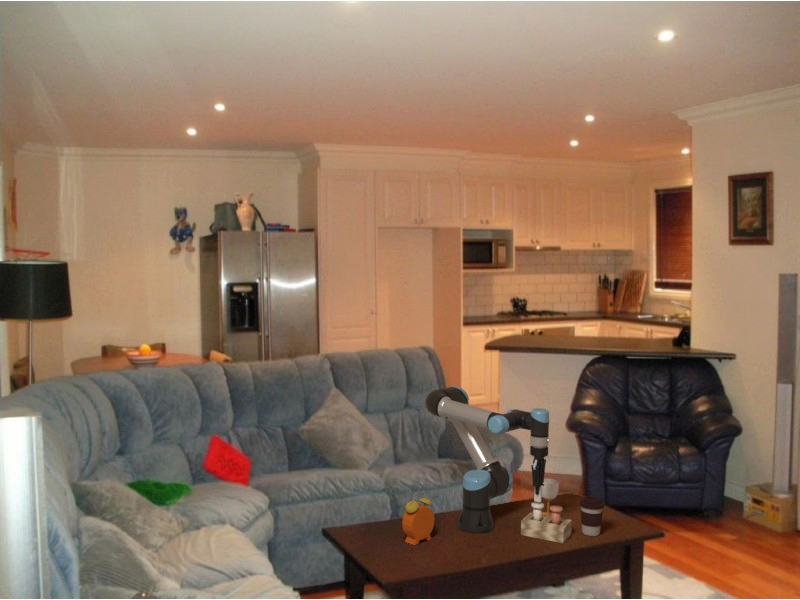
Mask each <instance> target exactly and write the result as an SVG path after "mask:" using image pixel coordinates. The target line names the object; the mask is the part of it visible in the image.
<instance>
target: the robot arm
mask: <svg viewBox="0 0 800 600" xmlns="http://www.w3.org/2000/svg"><path fill="white" fill-rule="evenodd" d="M424 401H425V403H424V404H425V408H426V410H427V411H428V412H429V413H430V414H431V415H433V416H436V417H437V418H438V417H439V418H442V419H445V418H446V420H447V421H448V422H451V423H452V425H453V426H454V428H455V430H456V431H457V434H458V436H459V438H460V439H461V442H462V443H463V445H464V446H465V449H466V450H467V452H468V454H469V456H470V458H471V460H472V461H473V464H474V465H475V467H476V469H472V470H468V471H467V472H465V473H464V475H463V478H462V479H463V480H462V506H461V507H462V509H461V511H460V515H459V517H458V520H457V525H458V526H457V527H458V528H459V529H460V530H462V531H465V532H469V533H476V534H477V533H478V534H479V533H481V534H482V533H487V532H490V531H492V530H493V529H494V520H493V515H492V513H491V510H490V509H491V506H490V505H491V504H490V503H491V500H492V499H494V498H496V497H500V496H503V495H505V494H507V493H508V492H510V491H511V489H512V488H513V483H514V475H513V474H512V471H511V470H510V469H509V468H508V467H506V466H503V465H502V464H501V462H500V461H499V460H498V459H494V456H493V455H492V453H491V452H490V450H489V448H488V446H487V444H486V442H485V441H484V439H483V437H482V435H481V433H480V431H479V430H478V428H477V427H481V428H484V429H488V430H489V431H490V432H491V433H492V434H493V435H502V434H505V433H508V432H509V433H510V432H511V431H512V432H513V431H515V430H520V429H522V430H527V431H530V435H529V436H530V437H529V443H530V447H529V455H531V456H532V457H533V460H532V464H531V467H530V468H531V476H532V487H534V491H533V492H534V497H533V498H534V499H533V500H534V501H533V502H540V503H542V500H543V499H542V498H543V497H542V486H544V484H542V483H544V479H545V472H546V463H547V459H545V458H546V457H548V455H549V442H550V439H549V432H550V412H549V410H547V409H546V408H539V407H535V408H532V409H531V411H525V410H520V409H517V408H516V409H513V408H511V409H509V410H508V411H506V413H499V412H496V411H492V410H489V409H484V408H481V407H477V406H474V405H470V397H469V395H468V393H467V392H466V390H465V389H464V388H462V387H459V386H448V387H445V388H439V389H433V390H431V391H430V392H428V394H427V395H426V398H425V400H424ZM541 485H542V486H541Z"/></svg>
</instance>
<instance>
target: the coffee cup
mask: <svg viewBox="0 0 800 600" xmlns="http://www.w3.org/2000/svg"><path fill="white" fill-rule="evenodd" d="M579 506H580V522H581V523H580V524H581V533H582V534H584V535H586V536H587V537H589V536H590V537H596V536H599V535H600V533H601V525H602V520H603V508H604V507H605V503H604V501H602V500H601V498H599V497H597V496H592V495H587V496H583V498H582V499H580V500H579Z"/></svg>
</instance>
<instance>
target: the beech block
mask: <svg viewBox="0 0 800 600" xmlns="http://www.w3.org/2000/svg"><path fill="white" fill-rule="evenodd" d="M551 519H552V516H548V515H542V521H536V520H533V512H529V513H528V514H527V515H526V516H525V517H523V518H522V519H521V520H520V536H526V537H530V538H534V539H535V538H536V539H539V540H540V539H541V540H545V541H551V542H556V543H559V544H564V543H565V542H566V541H567V540H568V538H569V537H570V536H571V535H572V523H573V522H572V519H570V518H564V517H560V525H557V524H552V523H551Z"/></svg>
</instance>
